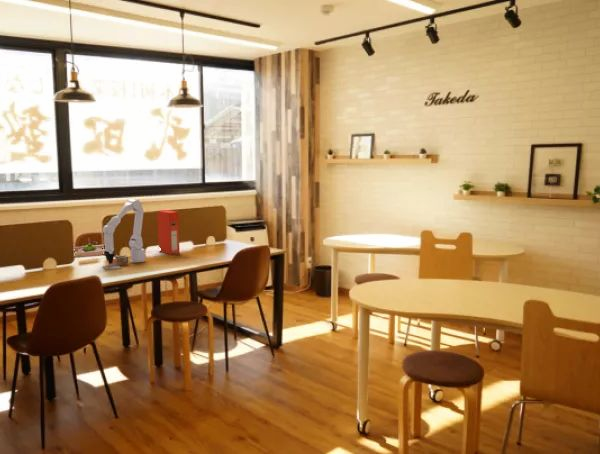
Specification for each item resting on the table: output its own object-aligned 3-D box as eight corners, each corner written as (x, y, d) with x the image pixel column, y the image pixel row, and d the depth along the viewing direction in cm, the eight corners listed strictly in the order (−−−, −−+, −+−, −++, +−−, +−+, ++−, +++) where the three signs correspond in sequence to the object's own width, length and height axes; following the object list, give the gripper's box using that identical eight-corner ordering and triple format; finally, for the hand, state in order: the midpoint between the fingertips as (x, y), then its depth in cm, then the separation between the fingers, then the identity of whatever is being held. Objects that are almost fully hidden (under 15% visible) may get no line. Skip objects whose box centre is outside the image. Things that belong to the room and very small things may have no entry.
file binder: (170, 254, 405) (169, 212, 400) (158, 251, 417) (157, 210, 413) (179, 253, 411) (178, 212, 406) (167, 250, 423) (166, 209, 418)
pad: (118, 265, 366) (118, 265, 366) (121, 268, 358) (121, 267, 358) (102, 267, 362) (102, 266, 362) (105, 270, 353) (105, 269, 353)
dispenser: (126, 263, 375) (126, 254, 374) (128, 264, 370) (128, 255, 369) (115, 264, 372) (115, 255, 371) (117, 265, 366) (117, 256, 366)
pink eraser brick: (123, 264, 373) (122, 257, 372) (123, 265, 370) (123, 257, 369) (107, 265, 368) (107, 258, 367) (108, 266, 365) (108, 259, 365)
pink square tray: (104, 248, 427) (104, 244, 427) (110, 254, 405) (109, 250, 405) (70, 251, 415) (70, 247, 415) (74, 257, 394) (74, 253, 393)
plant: (101, 249, 424) (100, 235, 422) (106, 254, 407) (106, 239, 406) (74, 252, 413) (73, 237, 412) (78, 256, 397) (77, 241, 395)
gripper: (101, 241, 369) (101, 260, 371) (104, 244, 357) (105, 264, 359) (111, 240, 373) (112, 260, 374) (115, 244, 360) (116, 264, 362)
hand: (109, 262), depth 367 cm, fingers open, 7 cm apart
